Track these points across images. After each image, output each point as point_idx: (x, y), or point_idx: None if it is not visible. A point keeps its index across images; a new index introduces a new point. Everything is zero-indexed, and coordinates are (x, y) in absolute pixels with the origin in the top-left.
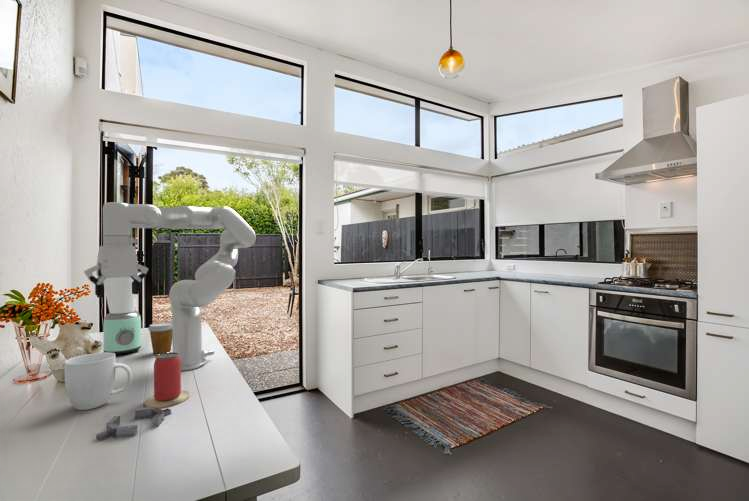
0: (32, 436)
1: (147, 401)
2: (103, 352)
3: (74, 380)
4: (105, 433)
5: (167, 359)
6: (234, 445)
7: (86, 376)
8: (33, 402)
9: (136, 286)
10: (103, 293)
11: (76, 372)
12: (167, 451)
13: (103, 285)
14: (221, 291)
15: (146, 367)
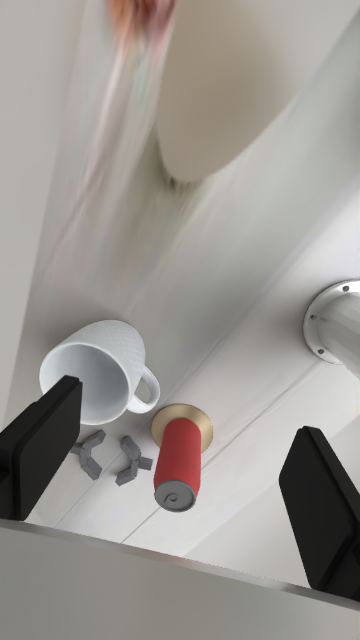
0: (37, 370)
1: (159, 417)
2: (122, 367)
3: None
4: (77, 452)
5: (163, 504)
6: None
7: None
8: (79, 227)
9: (300, 544)
10: (63, 456)
11: None
12: (96, 516)
13: (22, 520)
14: None
15: (313, 230)
